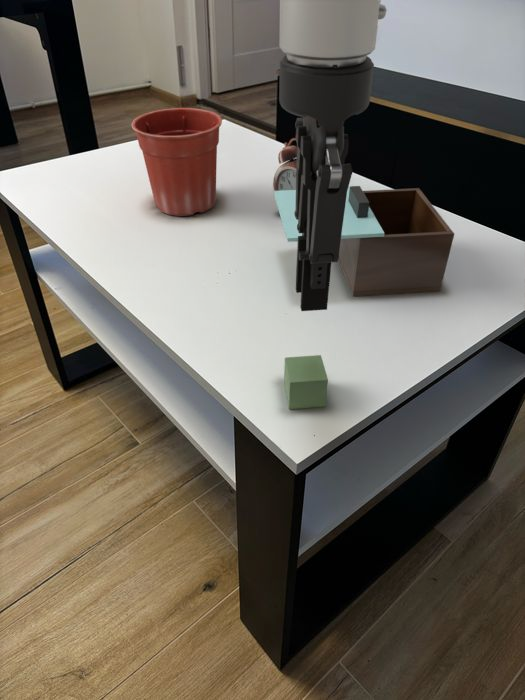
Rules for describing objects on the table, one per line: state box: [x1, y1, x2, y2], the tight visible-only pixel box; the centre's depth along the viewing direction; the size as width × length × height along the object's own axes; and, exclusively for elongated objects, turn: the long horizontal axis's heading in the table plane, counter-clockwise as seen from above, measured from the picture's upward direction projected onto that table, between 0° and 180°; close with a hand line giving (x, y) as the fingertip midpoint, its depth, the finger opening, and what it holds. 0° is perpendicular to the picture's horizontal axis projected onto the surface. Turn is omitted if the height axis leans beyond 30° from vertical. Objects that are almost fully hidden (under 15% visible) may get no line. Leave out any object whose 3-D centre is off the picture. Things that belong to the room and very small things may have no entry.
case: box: [338, 187, 455, 297], centre depth 87 cm, size 16×14×10 cm
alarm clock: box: [272, 137, 297, 192], centre depth 99 cm, size 11×5×15 cm, turn 45°
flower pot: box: [131, 107, 223, 217], centre depth 104 cm, size 16×16×16 cm
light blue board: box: [273, 185, 384, 243], centre depth 82 cm, size 16×14×3 cm
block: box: [283, 354, 329, 410], centre depth 66 cm, size 4×4×4 cm
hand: (310, 298), depth 58 cm, fingers open, 3 cm apart
